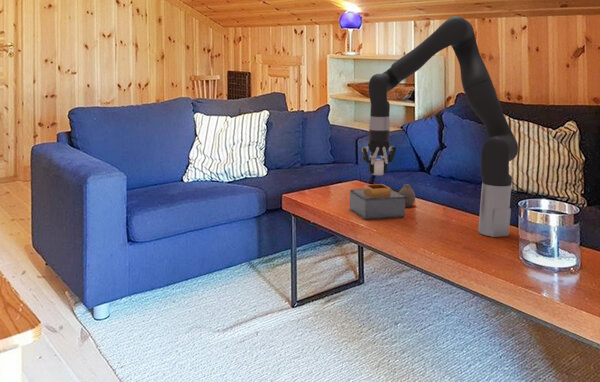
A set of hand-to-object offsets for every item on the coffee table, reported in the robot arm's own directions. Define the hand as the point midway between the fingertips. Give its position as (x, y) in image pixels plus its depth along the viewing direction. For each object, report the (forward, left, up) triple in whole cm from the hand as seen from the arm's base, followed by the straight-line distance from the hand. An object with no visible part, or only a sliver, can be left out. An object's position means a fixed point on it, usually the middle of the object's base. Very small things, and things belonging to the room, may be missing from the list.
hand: (377, 173), depth 203 cm
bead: (0, 0, 0) cm, 0 cm away
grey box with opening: (+2, 0, -16) cm, 16 cm away
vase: (+7, -16, -16) cm, 24 cm away
